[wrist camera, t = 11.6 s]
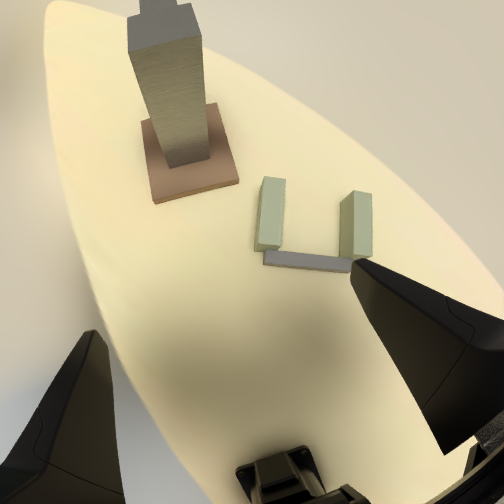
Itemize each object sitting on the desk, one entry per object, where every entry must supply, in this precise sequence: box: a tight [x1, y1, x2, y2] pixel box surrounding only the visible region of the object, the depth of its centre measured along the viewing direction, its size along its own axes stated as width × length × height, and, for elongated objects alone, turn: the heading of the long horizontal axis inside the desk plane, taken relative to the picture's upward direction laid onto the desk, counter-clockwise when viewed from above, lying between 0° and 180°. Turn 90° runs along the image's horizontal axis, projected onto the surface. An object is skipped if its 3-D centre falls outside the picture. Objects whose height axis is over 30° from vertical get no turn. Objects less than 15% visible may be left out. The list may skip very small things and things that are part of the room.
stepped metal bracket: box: [127, 0, 210, 169], centre depth 17 cm, size 6×3×13 cm, turn 16°
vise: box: [254, 176, 373, 273], centre depth 23 cm, size 6×9×3 cm
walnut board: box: [141, 103, 239, 204], centre depth 24 cm, size 8×7×1 cm
